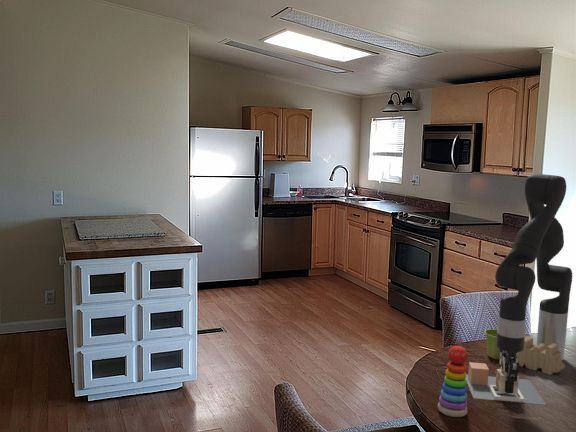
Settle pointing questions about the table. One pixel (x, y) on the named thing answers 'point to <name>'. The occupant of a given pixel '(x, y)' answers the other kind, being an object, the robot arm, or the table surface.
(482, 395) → the board
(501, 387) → the maple block
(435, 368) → the table surface
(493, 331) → the plant pot
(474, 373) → the terracotta block
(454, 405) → the stacking toy
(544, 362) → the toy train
